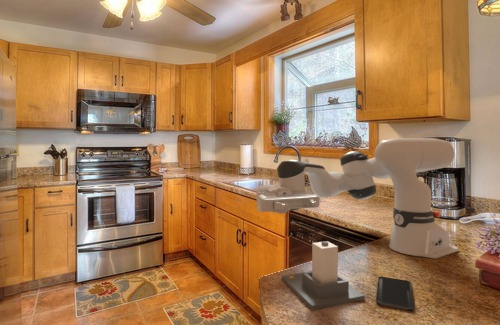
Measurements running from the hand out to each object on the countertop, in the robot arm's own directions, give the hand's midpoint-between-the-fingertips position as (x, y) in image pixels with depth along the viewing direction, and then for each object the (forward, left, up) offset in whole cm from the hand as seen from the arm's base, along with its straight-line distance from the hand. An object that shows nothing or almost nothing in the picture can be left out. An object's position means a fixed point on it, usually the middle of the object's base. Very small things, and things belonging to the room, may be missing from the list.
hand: (300, 206), depth 88 cm
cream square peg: (+2, +16, -18) cm, 24 cm away
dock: (+2, +14, -19) cm, 23 cm away
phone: (-14, +22, -19) cm, 32 cm away
